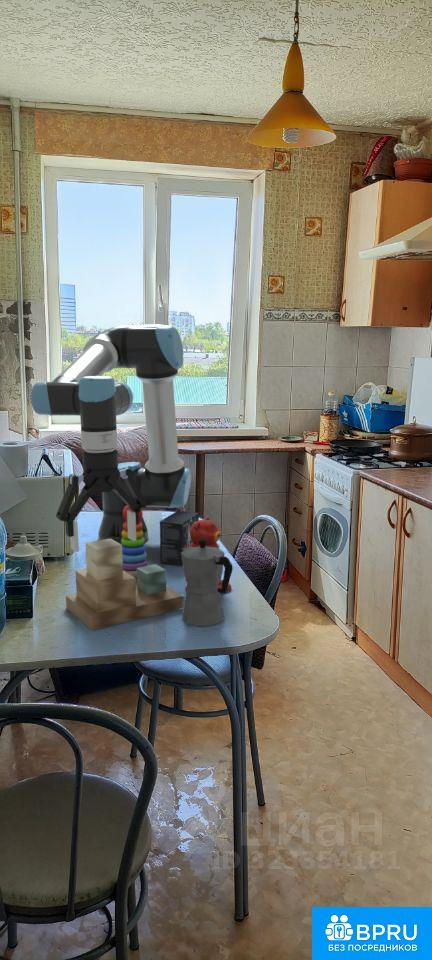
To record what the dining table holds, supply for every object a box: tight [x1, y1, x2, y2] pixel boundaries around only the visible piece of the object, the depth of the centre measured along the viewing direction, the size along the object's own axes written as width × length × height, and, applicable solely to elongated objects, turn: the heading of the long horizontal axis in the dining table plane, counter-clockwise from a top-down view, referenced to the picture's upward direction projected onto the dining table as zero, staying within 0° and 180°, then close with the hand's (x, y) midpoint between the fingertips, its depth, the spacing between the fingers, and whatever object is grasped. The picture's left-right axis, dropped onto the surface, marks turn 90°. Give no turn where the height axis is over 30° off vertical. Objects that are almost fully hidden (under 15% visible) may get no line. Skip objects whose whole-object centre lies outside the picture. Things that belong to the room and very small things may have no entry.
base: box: [65, 563, 184, 631], centre depth 157 cm, size 22×15×9 cm
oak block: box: [85, 538, 123, 581], centre depth 153 cm, size 6×6×7 cm
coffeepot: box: [181, 539, 234, 627], centre depth 149 cm, size 15×9×18 cm, turn 43°
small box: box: [159, 510, 200, 567], centre depth 193 cm, size 13×7×12 cm, turn 161°
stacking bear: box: [184, 517, 232, 593], centre depth 167 cm, size 11×10×18 cm
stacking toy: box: [121, 505, 148, 579], centre depth 179 cm, size 8×8×19 cm
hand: (104, 544), depth 153 cm, fingers open, 13 cm apart
